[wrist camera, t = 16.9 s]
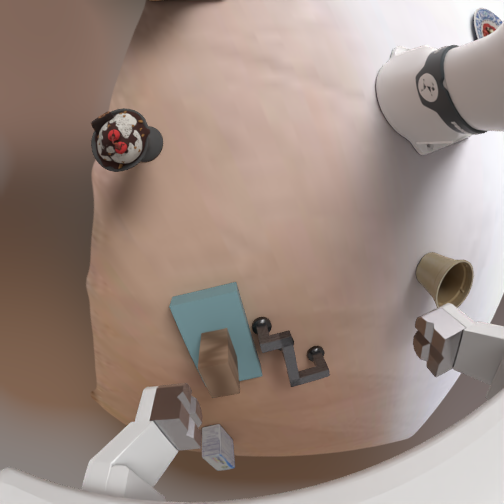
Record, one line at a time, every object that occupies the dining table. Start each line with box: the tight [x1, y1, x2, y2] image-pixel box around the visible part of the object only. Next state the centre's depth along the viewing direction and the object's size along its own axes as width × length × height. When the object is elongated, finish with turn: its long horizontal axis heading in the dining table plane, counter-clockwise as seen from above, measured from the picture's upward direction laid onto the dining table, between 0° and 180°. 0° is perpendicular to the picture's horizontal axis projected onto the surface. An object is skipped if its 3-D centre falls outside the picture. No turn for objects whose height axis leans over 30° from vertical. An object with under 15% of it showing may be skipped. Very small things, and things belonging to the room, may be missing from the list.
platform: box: [169, 282, 262, 386], centre depth 43 cm, size 10×17×3 cm, turn 13°
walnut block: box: [198, 328, 240, 398], centre depth 37 cm, size 4×6×8 cm, turn 13°
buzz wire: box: [252, 317, 330, 387], centre depth 43 cm, size 11×12×6 cm
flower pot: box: [416, 252, 473, 308], centre depth 40 cm, size 9×9×9 cm
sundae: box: [91, 109, 163, 172], centre depth 27 cm, size 7×7×15 cm
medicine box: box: [202, 424, 235, 471], centre depth 49 cm, size 8×4×9 cm, turn 19°
